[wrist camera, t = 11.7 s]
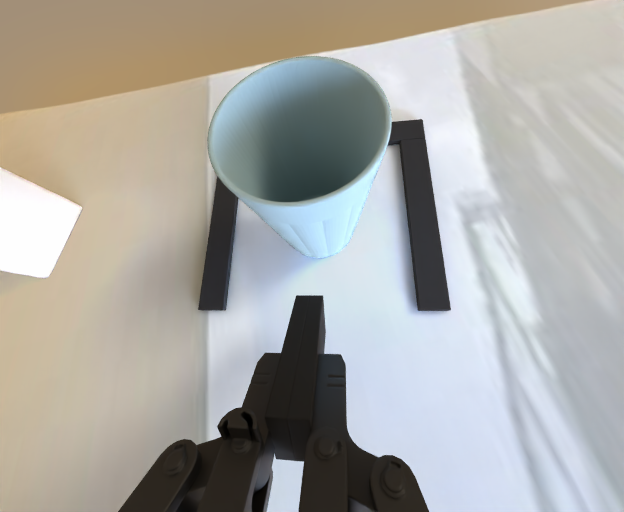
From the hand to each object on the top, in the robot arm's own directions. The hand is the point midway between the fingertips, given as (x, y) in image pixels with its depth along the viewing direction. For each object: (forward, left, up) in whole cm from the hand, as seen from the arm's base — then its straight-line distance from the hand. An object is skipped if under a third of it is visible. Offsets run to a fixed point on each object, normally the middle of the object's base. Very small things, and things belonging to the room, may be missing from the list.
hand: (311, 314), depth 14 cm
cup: (-4, -6, -4) cm, 8 cm away
